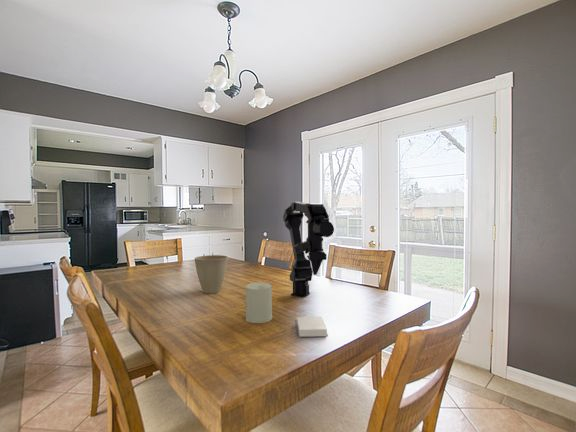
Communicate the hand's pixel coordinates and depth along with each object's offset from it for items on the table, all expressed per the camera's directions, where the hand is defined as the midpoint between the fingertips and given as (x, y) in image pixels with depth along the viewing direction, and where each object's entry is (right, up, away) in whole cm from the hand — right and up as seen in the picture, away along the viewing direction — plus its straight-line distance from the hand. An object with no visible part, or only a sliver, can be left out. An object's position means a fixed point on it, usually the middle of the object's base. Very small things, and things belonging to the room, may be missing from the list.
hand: (315, 274), depth 115 cm
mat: (-4, -12, -23) cm, 27 cm away
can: (-21, -13, -15) cm, 28 cm away
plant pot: (-46, -12, +19) cm, 51 cm away
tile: (-4, -11, -21) cm, 23 cm away
